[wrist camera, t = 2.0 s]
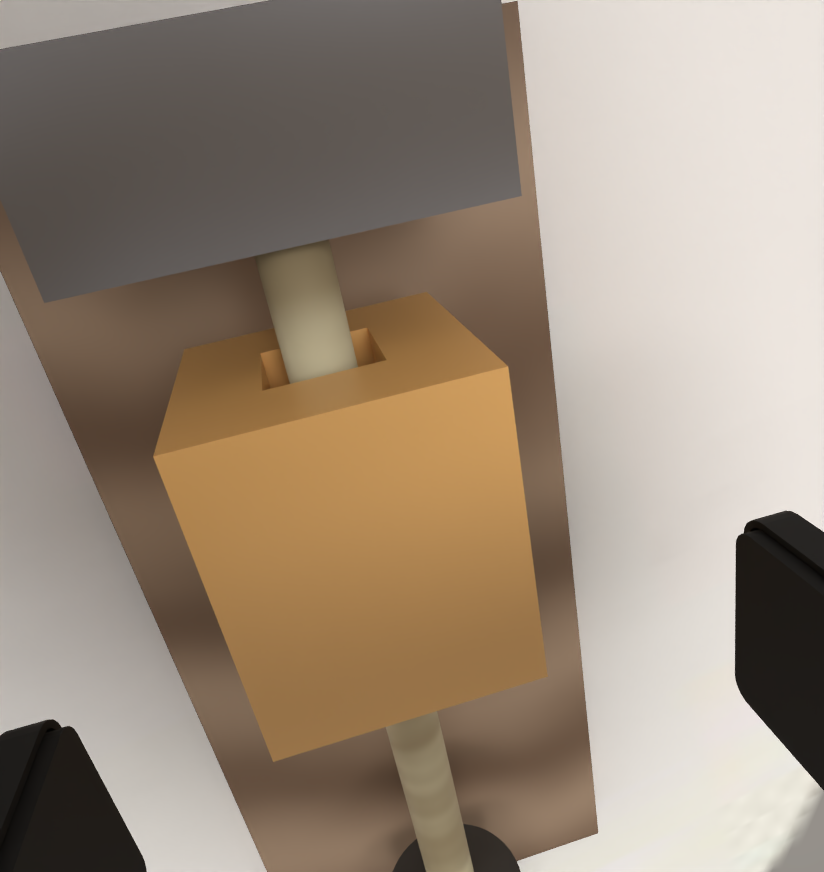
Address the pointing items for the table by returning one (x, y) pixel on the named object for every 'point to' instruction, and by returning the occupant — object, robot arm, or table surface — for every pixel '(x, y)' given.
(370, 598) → the sleeve
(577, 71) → the table surface
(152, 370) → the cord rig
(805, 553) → the robot arm
